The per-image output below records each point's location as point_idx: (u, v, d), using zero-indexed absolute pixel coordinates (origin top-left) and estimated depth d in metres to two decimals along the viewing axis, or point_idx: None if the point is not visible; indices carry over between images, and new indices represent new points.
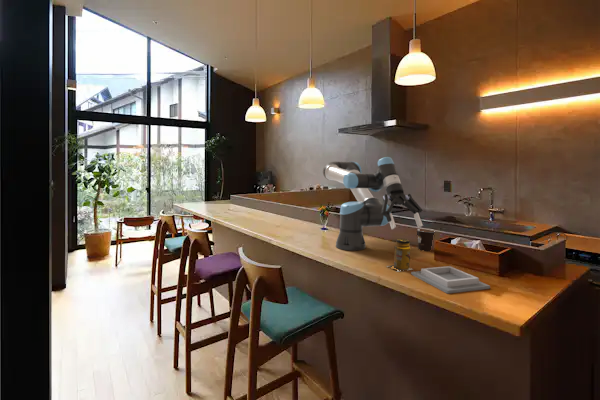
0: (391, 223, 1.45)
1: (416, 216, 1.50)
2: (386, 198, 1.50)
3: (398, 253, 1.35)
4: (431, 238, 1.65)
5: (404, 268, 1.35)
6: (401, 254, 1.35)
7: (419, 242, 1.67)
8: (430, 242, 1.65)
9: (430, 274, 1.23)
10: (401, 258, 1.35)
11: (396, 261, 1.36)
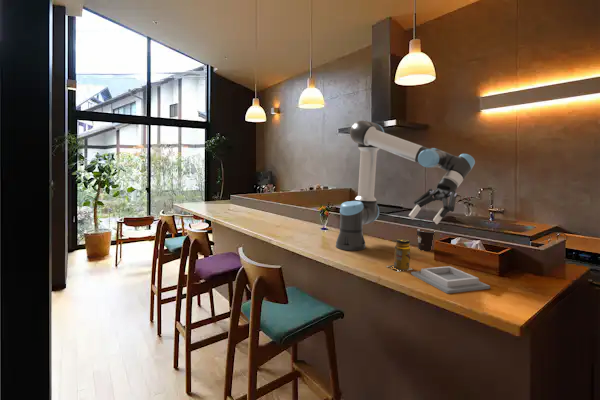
0: (438, 218, 1.34)
1: (418, 209, 1.47)
2: None
3: (398, 253, 1.35)
4: (431, 238, 1.65)
5: (404, 268, 1.35)
6: (401, 254, 1.35)
7: (419, 242, 1.67)
8: (430, 242, 1.65)
9: (430, 274, 1.23)
10: (401, 258, 1.35)
11: (396, 261, 1.36)
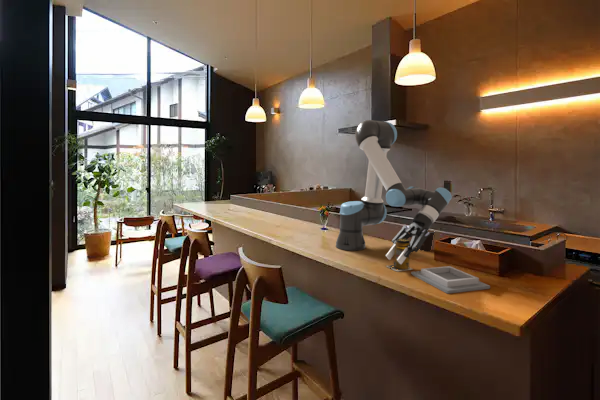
0: (402, 258, 1.33)
1: None
2: None
3: (397, 253, 1.35)
4: (431, 238, 1.65)
5: (404, 268, 1.35)
6: (400, 254, 1.35)
7: None
8: (430, 242, 1.65)
9: (430, 274, 1.23)
10: None
11: (396, 261, 1.36)
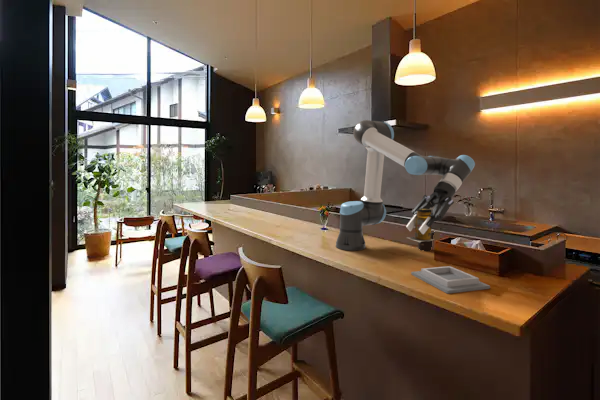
0: (425, 227, 1.25)
1: None
2: None
3: (419, 223, 1.27)
4: (431, 238, 1.65)
5: (426, 238, 1.27)
6: (422, 223, 1.27)
7: (419, 242, 1.67)
8: (430, 242, 1.65)
9: (430, 274, 1.23)
10: None
11: (417, 231, 1.28)
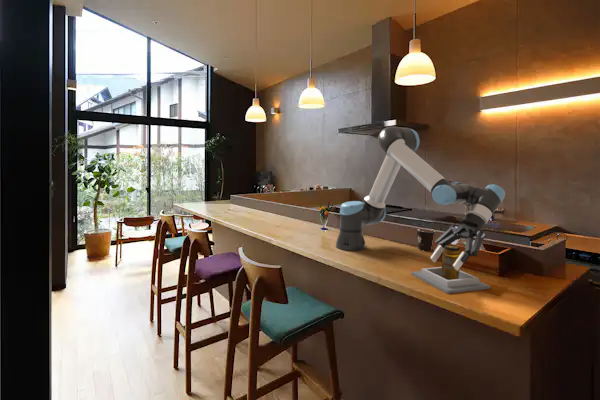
0: (459, 263, 1.17)
1: (441, 251, 1.27)
2: None
3: (447, 261, 1.21)
4: (431, 238, 1.65)
5: (454, 278, 1.21)
6: (450, 262, 1.20)
7: (419, 242, 1.67)
8: (430, 242, 1.65)
9: (430, 274, 1.23)
10: (451, 266, 1.20)
11: (444, 270, 1.22)
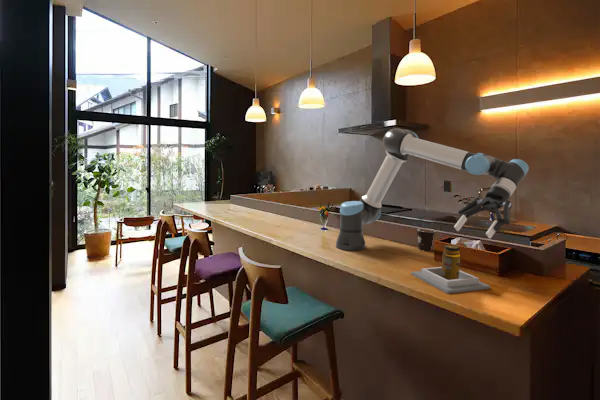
0: (492, 231, 1.20)
1: (464, 220, 1.33)
2: None
3: (447, 261, 1.21)
4: (431, 238, 1.65)
5: (454, 278, 1.21)
6: (450, 262, 1.20)
7: (419, 242, 1.67)
8: (430, 242, 1.65)
9: (430, 274, 1.23)
10: (451, 266, 1.20)
11: (444, 270, 1.22)
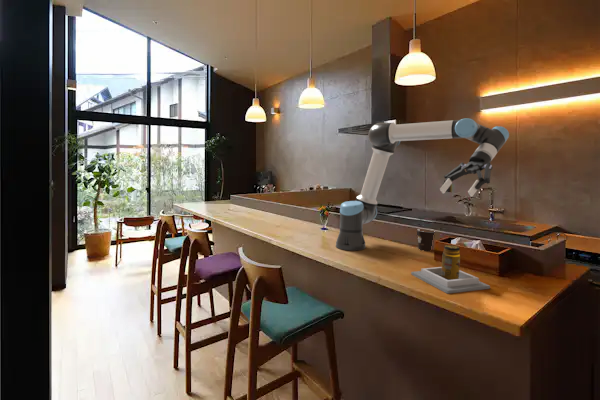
0: (473, 190, 1.29)
1: (449, 183, 1.42)
2: None
3: (447, 261, 1.21)
4: (431, 238, 1.65)
5: (454, 278, 1.21)
6: (450, 262, 1.20)
7: (419, 242, 1.67)
8: (430, 242, 1.65)
9: (430, 274, 1.23)
10: (451, 266, 1.20)
11: (444, 270, 1.22)
